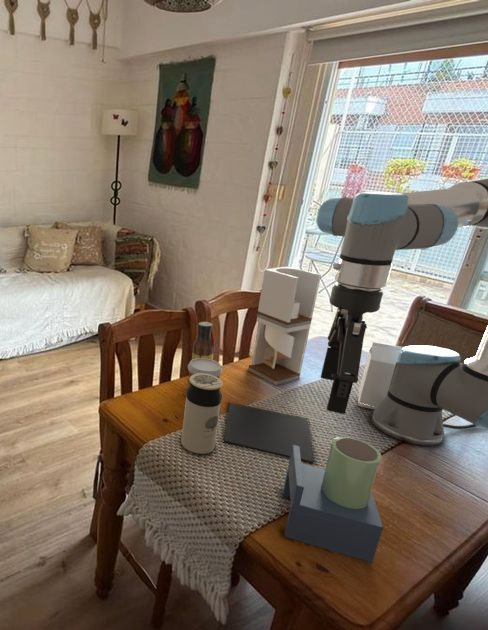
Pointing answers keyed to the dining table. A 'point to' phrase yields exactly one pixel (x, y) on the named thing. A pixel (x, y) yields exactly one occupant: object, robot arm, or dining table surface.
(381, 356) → the milk carton
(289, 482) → the blue l-shaped block
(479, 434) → the dining table surface
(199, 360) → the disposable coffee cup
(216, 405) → the travel mug
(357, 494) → the cup
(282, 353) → the white dispenser tower
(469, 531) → the dining table surface
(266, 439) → the mat
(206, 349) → the sauce bottle
